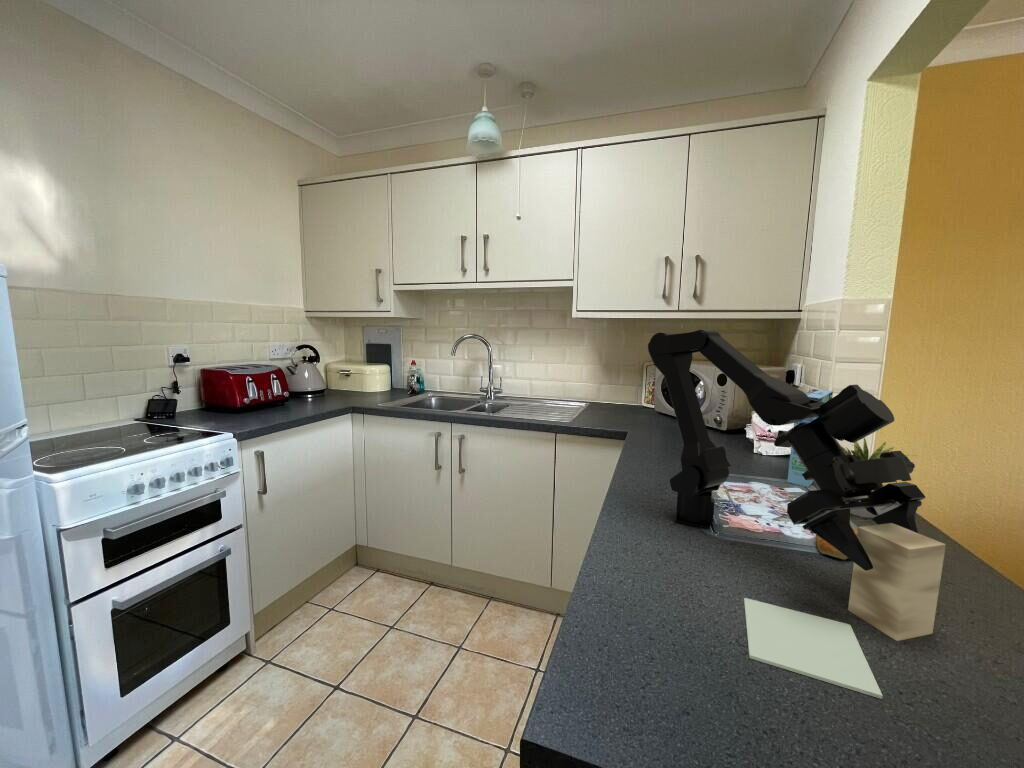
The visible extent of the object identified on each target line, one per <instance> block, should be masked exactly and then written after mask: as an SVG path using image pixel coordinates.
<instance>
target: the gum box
mask: <svg viewBox="0 0 1024 768" xmlns="http://www.w3.org/2000/svg"><path fill="white" fill-rule="evenodd" d="M804 393H805V394H806V395H807V396H808V397H809V399H813V400H817V401H821V402H824V403H825V402H827V401H829V400H830V399H832V398H833V394H834V391H833V390H825V389H814V388H813V389H811V390H808V391H807V392H804ZM816 418H818V417H813V418H807V419H804V420H803V421H800V422H797V423H793V427H795V426H796V425H798V424H799V423H806V424H808V423H810V422H811V421H813V420H815V419H816ZM806 471H807V470H806V469H805V467H804V465H803V464H802V462H801V461H800V459H799V457H798V456H797V454H796V453H795V451H794V450H793V448H792V447H790V453H789V462H788V473H787V481H786V482H787V484H791V483H792V485H795V484H796V486H798V487H799V486H800V487H804V488H809V487H810V486H811V485H812V484H813V482H814V481H813V480H805V479H804V477H803V475H802V474H803V473H805V472H806ZM814 483H815V482H814Z"/></svg>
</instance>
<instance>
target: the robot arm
mask: <svg viewBox="0 0 1024 768" xmlns="http://www.w3.org/2000/svg"><path fill="white" fill-rule="evenodd" d="M647 350H648V354H649V356H650V358H651V360H652V362H653V365H654V366H655V368H657V370H658V371H659V372H660V373H661V375H663V377H664V379H665V382H666V386H667V390H668V394H669V397H670V400H671V404H672V408H673V412H674V414H675V418H676V421H677V426H678V429H679V433H680V436H681V439H682V444H683V446H682V451H681V455H680V459H679V460H680V467H681V471H679V472H678V473H677V474H675V475H674V476H673V477H671V478H670V479H669V484H670V489H671V491H673V492H675V493H676V494H677V495H676V505H675V506H676V509H675V515H674V520H673V521H674V522H675V523H678V524H683V525H689V526H694V527H700V528H704V529H711V524H712V523H714V515H715V503H716V500H715V498H713V492H714V491H718V490H719V489H720V487H721V485H722V484H724V483H725V482H726V481H727V479H728V478H729V475H730V471H729V470H730V469H729V468H731V467H732V465H731V464H730V463H729V460H728V459H727V453H726V449H725V447H724V446H722V445H721V446H717V445H716V444H714V442H713V441H712V440H711V439H710V437H709V433H708V430H707V426H706V423H705V418H704V417H703V415H704V414H703V412H702V410H701V406H700V403H699V399H698V395H697V391H696V388H695V385H694V381H693V378H692V375H691V370H690V369H691V365H692V363H693V362H692V361H693V358H694V356H693V354H694V353H695V354H696V353H700V354H701V355H702V356H703V357H705V358H706V360H708V361H709V362H710V363H711V364H712V365H714V366H715V367H716V368H717V369H718V370H719V371H720V372H721V373H722V374H724V375H725V376H726V377H727V378H728V379H730V380H731V382H733V383H734V384H735V385H736V386H737V387H739V389H740V390H741V391H742V392H743V394H745V396H746V399H747V402H748V405H749V406H750V407H751V408H752V409H753V411H754V412H755V413H756V415H757V416H758V418H760V420H761V421H762V422H763V423H765V424H767V425H769V426H780V427H781V426H786V425H791V424H794V423H797V422H800V421H803V420H804V419H807V418H813V417H818V418H816V419H815V420H813V421H811V422H810V423H808V424H806V423H799V424H798V425H796V426H795V427H794V426H793V427H792V428H790V429H788V430H783V429H782V430H778V431H777V436H776V437H775V439H774V443H773V445H774V446H775V447H780V448H791V447H792V448H793V450H794V451H795V453H796V454H797V456H798V457H799V459H800V461H801V462H802V464H803V465H804V467H805V469H806V470H807V471H806V472H805V473H803V474H802V475H803V477H804V479H805V480H813V481H814V484H815V486H816V487H817V489H815V490H808V491H806V492H805V493H803V494H801V495H800V496H798V497H797V498H795V499H793V500H791V501H790V502H788V503H787V505H786V514H787V516H788V517H789V519H790V520H791V522H792V524H793V525H794V526H795V525H802V528H803V529H804V530H808V531H811V532H812V533H813V534H814V535H815V536H816V535H818V536H819V537H820V538H822V539H823V540H825V541H826V542H828V543H829V544H831V545H832V546H833V547H835V548H836V549H837V550H839V551H840V552H841V553H843V554H844V555H845V556H847V557H848V559H849V560H850V561H852V562H853V564H854V563H856V564H857V565H858V566H860V567H861V568H862V569H864V570H865V571H868V570H871V569H873V565H872V563H871V561H870V559H869V557H868V555H867V553H866V551H865V550H864V548H863V546H862V545H861V543H860V541H859V539H858V538H857V536H856V534H855V532H854V531H853V529H852V527H853V526H852V525H851V513H850V510H852V509H861V508H866V510H867V511H868V512H870V513H872V514H873V515H877V516H876V517H874V518H871V519H872V521H873V522H875V523H876V525H879V524H888V523H893V524H896V525H898V526H901V527H903V528H906V529H908V530H911V531H913V532H916V533H918V534H920V533H919V530H918V528H917V523H916V517H915V516H916V513H917V510H918V508H919V507H921V506H922V504H923V503H922V501H923V500H924V499H926V495H925V494H924V493H923V492H922V490H921V489H920V488H919V487H918V486H917V484H915V483H910V482H911V481H913V479H912V478H911V477H912V476H911V475H910V474H912V473H913V472H914V469H915V468H916V464H915V463H914V462H912V461H911V459H909V458H908V456H905V455H906V454H904V452H902V451H901V450H891V451H889V452H885V453H881V454H880V458H878V459H871V460H869V459H868V460H864V461H862V460H861V458H860V457H859V456H856V455H853V454H852V455H847V454H846V452H845V451H844V450H843V448H844V447H843V446H842V445H841V444H840V443H839V441H840V442H842V441H846V442H849V443H852V444H854V443H855V442H859V441H860V440H862V439H863V440H864V438H866V437H867V436H869V435H871V434H872V435H873V433H875V432H878V431H879V430H881V429H882V428H884V427H887V426H888V425H890V424H892V423H894V421H895V417H894V414H893V412H892V410H891V409H890V408H889V407H888V406H887V404H885V402H884V401H883V400H882V399H878V398H877V397H876V396H874V395H873V394H871V393H870V392H868V391H866V390H864V389H863V388H861V386H859V384H850V385H848V386H845V388H843V389H842V390H841V391H840V392H839V393H838V394H837V395H835V396H834V397H833V396H832V399H830V400H829V401H827V402H825V403H824V402H821V401H817V400H813V399H809V397H808V396H807V395H806V394H805V393H806V392H804V391H802V390H801V389H799V388H797V387H795V386H793V385H791V384H790V383H788V382H786V381H783V380H780V379H779V378H776V377H774V376H772V375H769V374H767V373H766V372H765V371H764V370H762V369H761V368H760V367H758V366H757V365H756V364H755V363H754V362H752V360H751V359H749V358H748V357H746V356H745V355H744V354H743V353H742V352H741V351H739V350H738V349H737V348H735V347H734V346H733V345H732V344H730V343H729V342H728V341H727V340H726V339H725V338H723V337H722V336H721V334H720V333H719V332H718V331H716V330H715V329H698V330H695V331H690V332H681V333H680V332H657V333H655V334H653V335H652V337H651V338H650V340H649V342H648V344H647ZM841 446H842V447H843V448H842V447H841ZM896 480H897V481H900V482H897V483H896ZM909 481H910V482H909ZM882 486H883V487H882ZM880 487H881V488H880ZM878 488H879V489H878ZM874 489H877V490H875V491H873V492H872V490H874ZM860 500H861V502H859V501H860Z"/></svg>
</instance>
